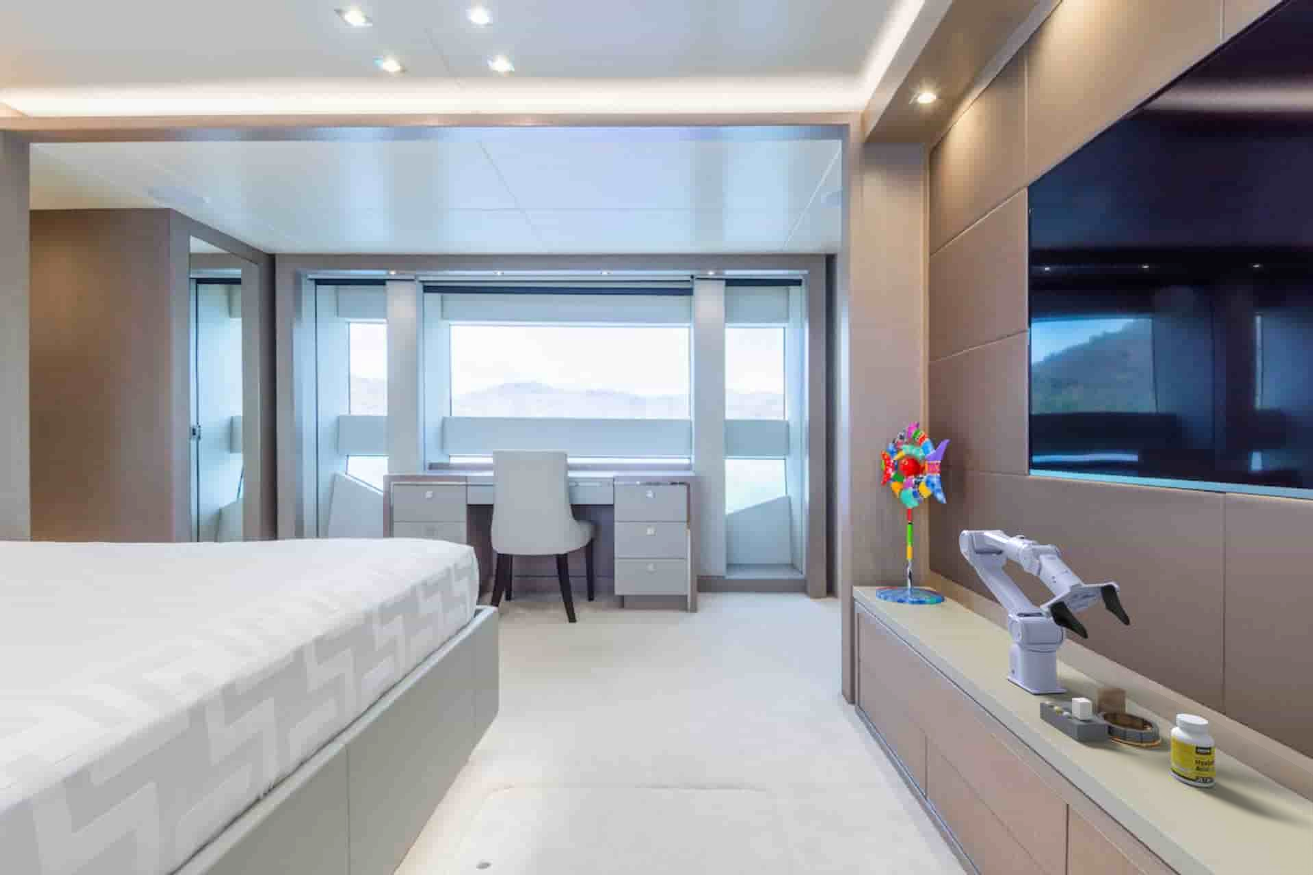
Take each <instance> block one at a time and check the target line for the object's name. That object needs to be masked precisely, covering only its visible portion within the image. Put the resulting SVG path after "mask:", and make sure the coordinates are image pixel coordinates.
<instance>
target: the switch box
mask: <svg viewBox="0 0 1313 875" xmlns="http://www.w3.org/2000/svg"><path fill="white" fill-rule="evenodd" d="M1039 713H1040V714H1039V716H1040V717H1039V718H1040V719H1041V720H1043V721H1045V722H1046V723H1047V724H1050V725H1051V726H1053V727H1054V728H1055V729H1057V730H1058V731H1060V732H1061V733H1062V734H1065V735H1066V736H1068V737H1070V738H1071V739H1072V740H1074V741H1076V742H1094V741H1108V740H1109V738H1108V723H1106V722H1104V721H1103V720H1101V719H1099V718H1097V715H1094V714H1092V719H1087V720H1080V719H1078V718H1076V717H1074V716H1073V715H1072V701H1048V700H1045V702H1040V703H1039Z"/></svg>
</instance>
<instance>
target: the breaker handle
mask: <svg viewBox="0 0 1313 875" xmlns="http://www.w3.org/2000/svg"><path fill="white" fill-rule="evenodd" d="M1071 703H1072V715H1073V716H1074V717H1076V718H1078V719H1080V720H1087V719H1092V715H1093V701H1091V700H1089V699H1087V698H1086V697H1073V698H1071Z"/></svg>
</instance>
